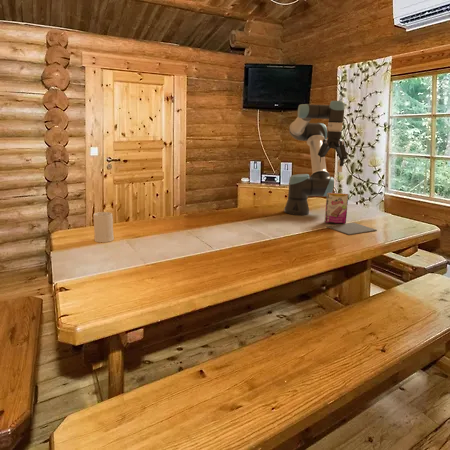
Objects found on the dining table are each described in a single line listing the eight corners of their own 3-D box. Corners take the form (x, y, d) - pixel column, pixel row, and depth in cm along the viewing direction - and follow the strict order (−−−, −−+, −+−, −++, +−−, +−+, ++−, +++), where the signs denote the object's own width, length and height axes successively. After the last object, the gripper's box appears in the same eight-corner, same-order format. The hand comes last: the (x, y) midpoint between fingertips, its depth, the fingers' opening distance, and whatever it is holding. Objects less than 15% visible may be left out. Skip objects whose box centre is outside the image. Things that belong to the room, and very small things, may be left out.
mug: (92, 236, 183) (91, 210, 180) (111, 234, 186) (110, 209, 183) (95, 243, 172) (93, 216, 169) (115, 241, 176) (114, 215, 173)
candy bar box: (325, 222, 216) (327, 192, 215) (324, 221, 221) (326, 192, 220) (346, 223, 215) (348, 193, 214) (344, 223, 220) (346, 193, 219)
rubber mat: (326, 227, 210) (326, 226, 210) (353, 223, 220) (353, 222, 220) (348, 235, 197) (348, 233, 197) (376, 230, 206) (376, 229, 206)
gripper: (313, 129, 221) (310, 167, 226) (347, 132, 200) (342, 173, 206) (323, 129, 224) (320, 167, 230) (357, 132, 204) (352, 173, 209)
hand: (330, 170), depth 218 cm, fingers open, 13 cm apart
